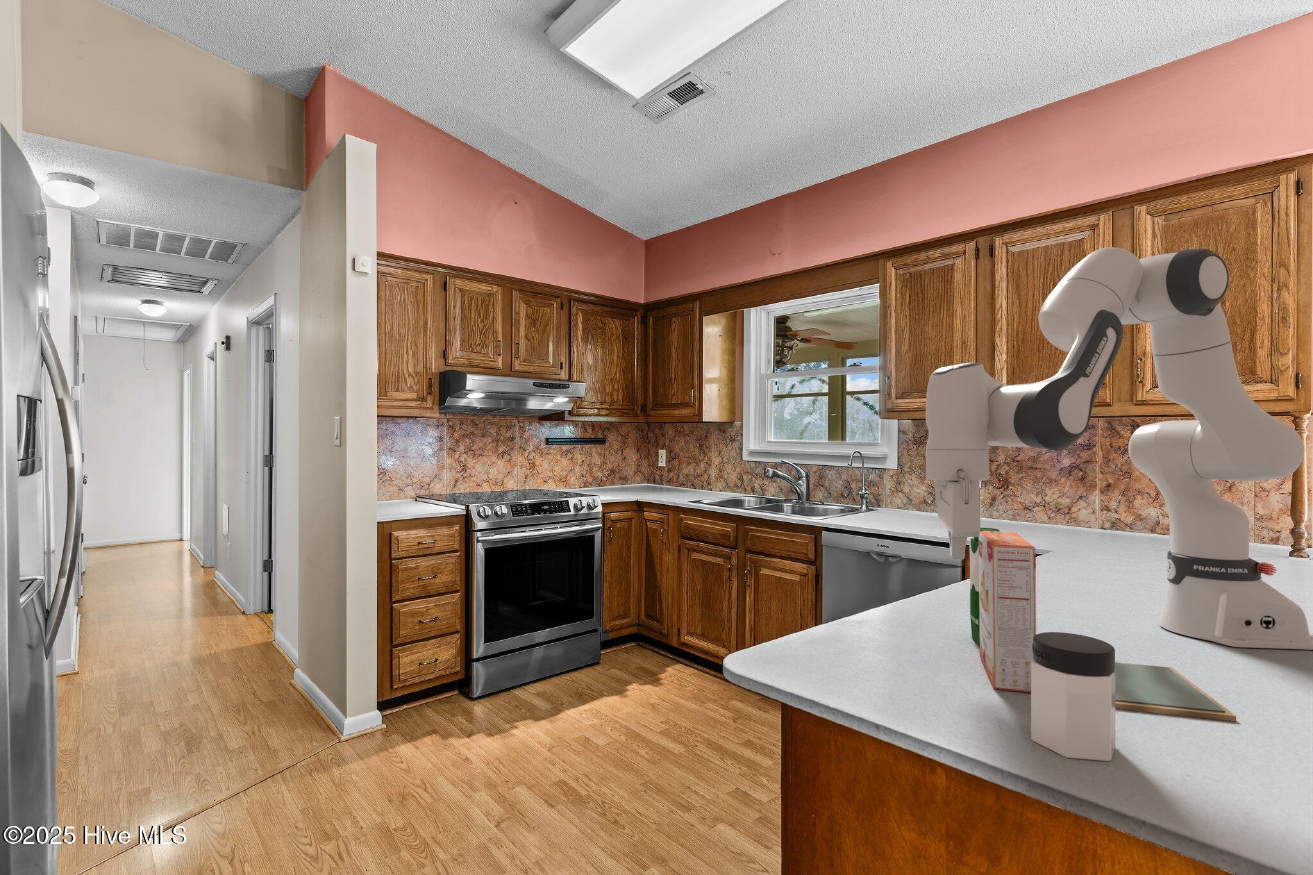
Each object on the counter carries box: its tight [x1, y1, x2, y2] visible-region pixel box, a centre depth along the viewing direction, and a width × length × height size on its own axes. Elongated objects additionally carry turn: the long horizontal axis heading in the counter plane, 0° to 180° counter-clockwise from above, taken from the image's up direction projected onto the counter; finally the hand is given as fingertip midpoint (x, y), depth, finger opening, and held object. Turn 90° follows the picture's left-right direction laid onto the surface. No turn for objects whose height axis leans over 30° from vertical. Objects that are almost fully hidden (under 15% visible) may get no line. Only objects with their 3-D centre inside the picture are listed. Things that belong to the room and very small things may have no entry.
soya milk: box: [968, 527, 1001, 647], centre depth 112 cm, size 9×9×20 cm
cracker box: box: [979, 531, 1037, 694], centre depth 98 cm, size 14×6×21 cm, turn 160°
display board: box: [1115, 661, 1237, 722], centre depth 93 cm, size 20×18×1 cm
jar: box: [1030, 631, 1116, 762], centre depth 76 cm, size 9×8×12 cm
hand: (957, 557), depth 100 cm, fingers closed
